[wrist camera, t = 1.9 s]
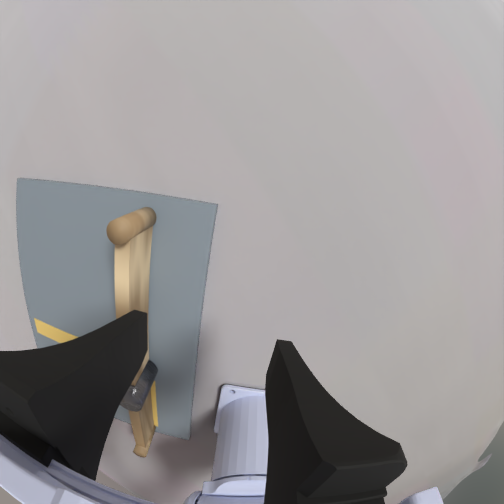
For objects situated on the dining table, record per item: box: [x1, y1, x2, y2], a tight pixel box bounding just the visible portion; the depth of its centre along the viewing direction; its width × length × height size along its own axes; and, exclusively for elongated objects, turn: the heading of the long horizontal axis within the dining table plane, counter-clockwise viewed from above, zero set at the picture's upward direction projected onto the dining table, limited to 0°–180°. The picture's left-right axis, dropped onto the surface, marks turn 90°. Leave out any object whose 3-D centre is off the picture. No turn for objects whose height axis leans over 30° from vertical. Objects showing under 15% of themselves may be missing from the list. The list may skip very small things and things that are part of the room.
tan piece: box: [106, 207, 157, 386], centre depth 17 cm, size 13×1×4 cm, turn 169°
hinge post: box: [120, 360, 158, 412], centre depth 19 cm, size 2×2×4 cm
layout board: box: [16, 178, 218, 440], centre depth 21 cm, size 19×26×1 cm
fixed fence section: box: [128, 389, 156, 457], centre depth 21 cm, size 1×9×4 cm, turn 169°
